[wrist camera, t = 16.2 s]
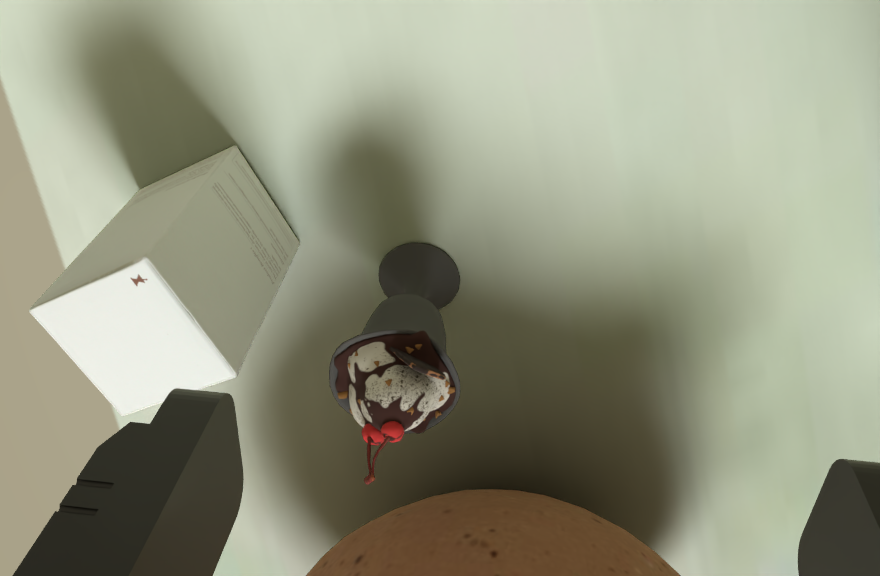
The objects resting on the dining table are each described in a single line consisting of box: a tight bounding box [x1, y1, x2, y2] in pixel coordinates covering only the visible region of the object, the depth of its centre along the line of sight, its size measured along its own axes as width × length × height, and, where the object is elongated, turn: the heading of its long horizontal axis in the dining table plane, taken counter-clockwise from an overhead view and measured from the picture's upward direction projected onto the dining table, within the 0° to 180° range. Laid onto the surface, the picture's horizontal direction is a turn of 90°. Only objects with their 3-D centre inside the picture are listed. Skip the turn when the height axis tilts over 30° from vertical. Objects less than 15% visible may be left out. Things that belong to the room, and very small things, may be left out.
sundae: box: [329, 243, 460, 485], centre depth 42 cm, size 7×7×15 cm
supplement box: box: [29, 145, 300, 416], centre depth 43 cm, size 7×7×13 cm
